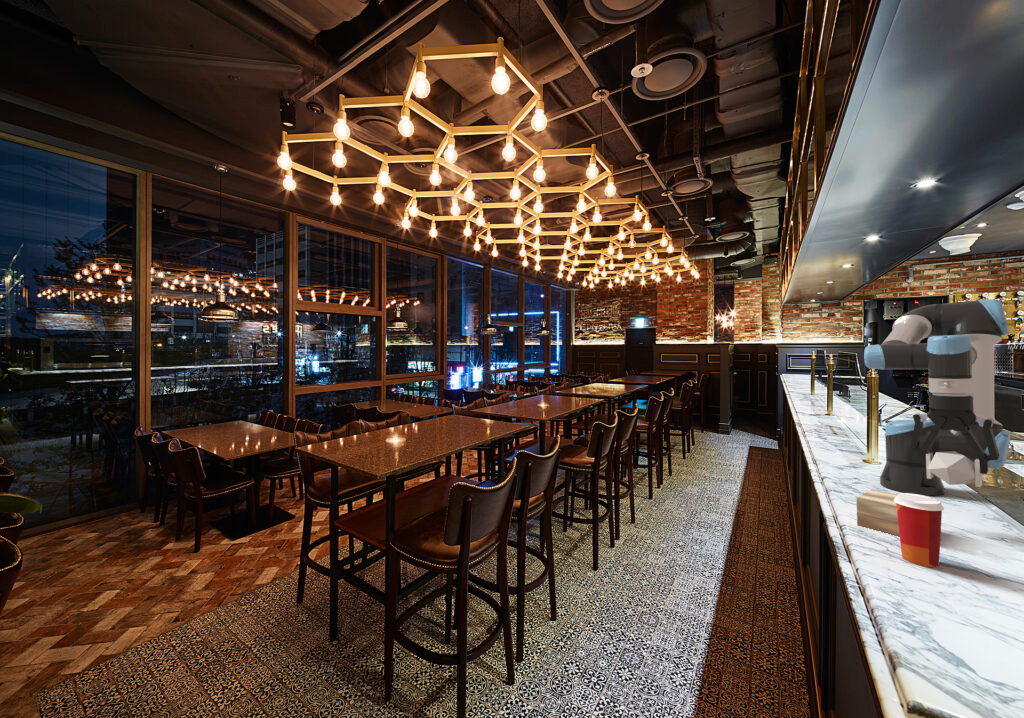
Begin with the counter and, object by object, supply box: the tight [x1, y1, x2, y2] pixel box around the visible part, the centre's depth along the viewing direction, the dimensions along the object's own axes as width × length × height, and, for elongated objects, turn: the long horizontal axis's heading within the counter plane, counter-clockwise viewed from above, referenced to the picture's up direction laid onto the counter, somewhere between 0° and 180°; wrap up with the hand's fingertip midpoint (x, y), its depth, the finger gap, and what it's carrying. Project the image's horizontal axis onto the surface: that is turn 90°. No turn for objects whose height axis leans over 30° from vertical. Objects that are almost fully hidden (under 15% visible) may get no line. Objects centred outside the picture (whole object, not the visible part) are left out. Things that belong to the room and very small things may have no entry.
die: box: [927, 451, 976, 486], centre depth 100 cm, size 8×9×10 cm
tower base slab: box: [856, 511, 900, 538], centre depth 101 cm, size 11×11×4 cm
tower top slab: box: [856, 489, 898, 522], centre depth 101 cm, size 11×11×4 cm
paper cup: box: [894, 492, 945, 569], centre depth 85 cm, size 8×8×14 cm
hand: (953, 481), depth 99 cm, fingers closed on die, 8 cm apart
